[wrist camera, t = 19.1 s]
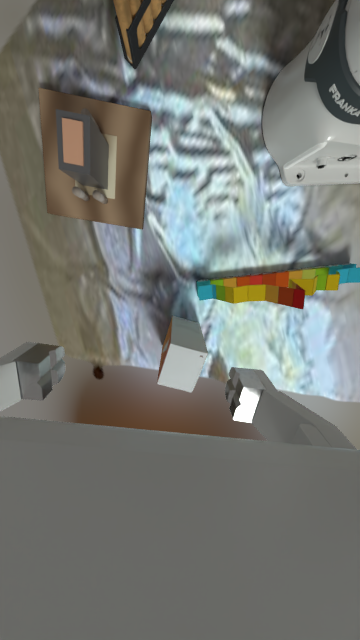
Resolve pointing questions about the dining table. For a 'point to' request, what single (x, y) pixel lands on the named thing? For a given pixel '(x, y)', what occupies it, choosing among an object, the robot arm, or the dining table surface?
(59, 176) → the board
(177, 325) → the small box
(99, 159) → the plug block
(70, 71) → the dining table surface
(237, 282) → the chart
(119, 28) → the ammunition clip
